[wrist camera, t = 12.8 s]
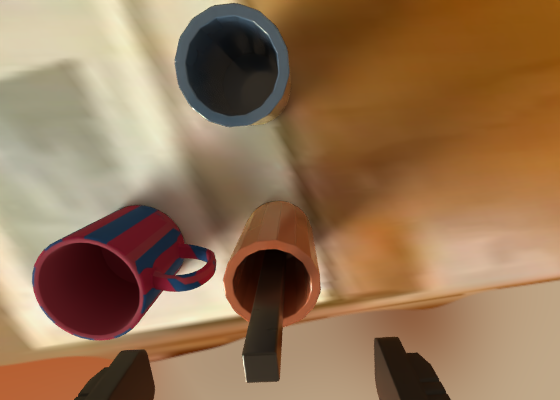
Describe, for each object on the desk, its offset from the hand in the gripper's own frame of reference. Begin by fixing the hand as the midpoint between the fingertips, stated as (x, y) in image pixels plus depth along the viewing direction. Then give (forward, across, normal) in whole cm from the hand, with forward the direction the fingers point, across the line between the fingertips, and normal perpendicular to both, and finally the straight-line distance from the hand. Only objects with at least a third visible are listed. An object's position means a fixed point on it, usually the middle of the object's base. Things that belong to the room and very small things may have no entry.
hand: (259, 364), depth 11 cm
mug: (+14, +9, +1) cm, 16 cm away
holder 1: (+13, +1, -10) cm, 17 cm away
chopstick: (+13, 0, 0) cm, 13 cm away
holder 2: (+13, 0, 0) cm, 13 cm away
